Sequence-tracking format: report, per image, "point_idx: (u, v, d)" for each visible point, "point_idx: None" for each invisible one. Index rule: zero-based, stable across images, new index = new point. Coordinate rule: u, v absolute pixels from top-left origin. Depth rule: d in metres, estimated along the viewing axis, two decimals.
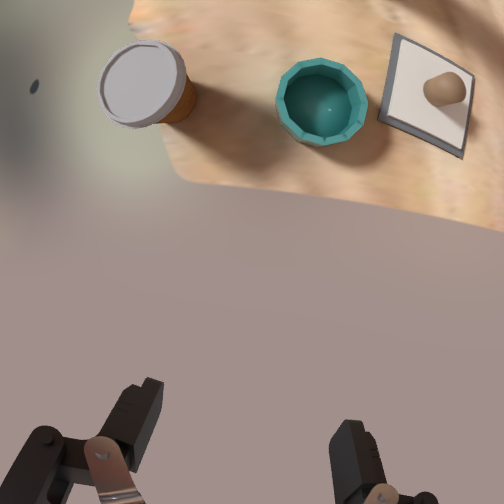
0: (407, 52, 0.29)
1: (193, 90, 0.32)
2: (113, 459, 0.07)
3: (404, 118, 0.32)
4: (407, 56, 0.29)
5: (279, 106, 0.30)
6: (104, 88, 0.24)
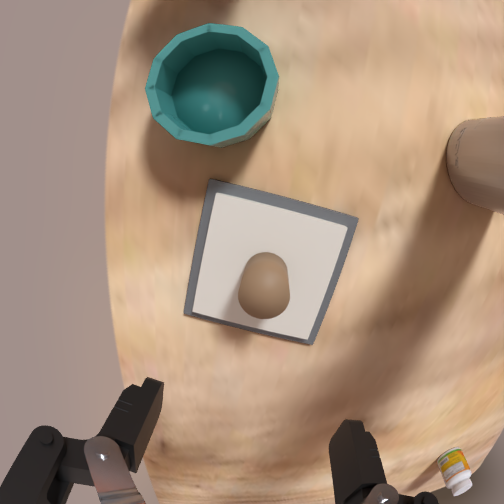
0: (325, 231, 0.26)
1: None
2: (113, 459, 0.07)
3: (214, 217, 0.27)
4: (317, 230, 0.26)
5: (197, 28, 0.18)
6: None
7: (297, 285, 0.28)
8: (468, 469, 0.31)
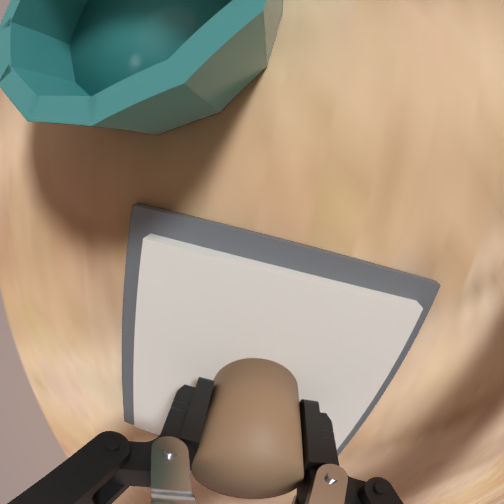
0: (380, 318, 0.12)
1: None
2: (182, 457, 0.08)
3: (145, 289, 0.12)
4: (366, 317, 0.12)
5: None
6: None
7: None
8: None
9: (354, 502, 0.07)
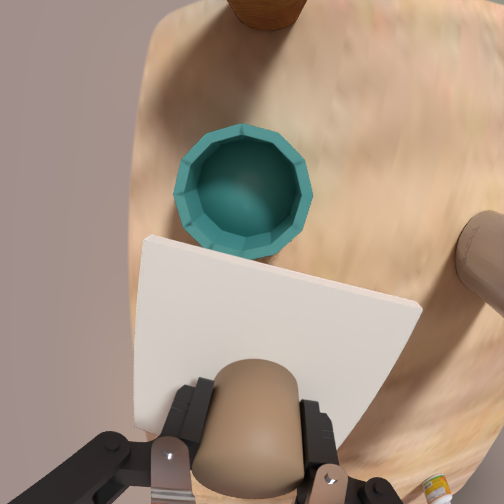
0: (380, 319, 0.12)
1: (271, 22, 0.20)
2: (182, 458, 0.08)
3: (145, 290, 0.12)
4: (366, 318, 0.12)
5: (229, 128, 0.20)
6: None
7: None
8: (449, 494, 0.34)
9: (354, 502, 0.07)
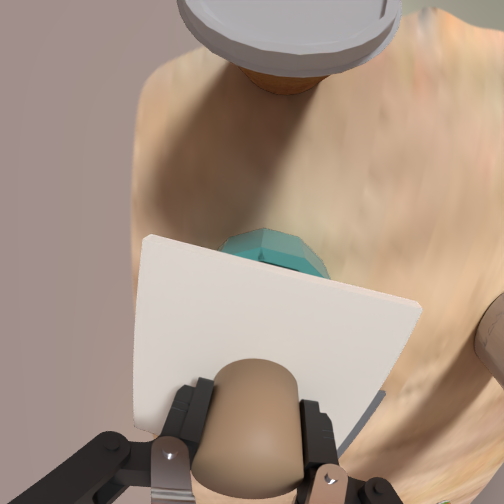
0: (379, 319, 0.12)
1: (293, 90, 0.17)
2: (182, 458, 0.08)
3: (145, 289, 0.12)
4: (366, 318, 0.12)
5: (245, 253, 0.18)
6: None
7: None
8: None
9: (354, 502, 0.07)
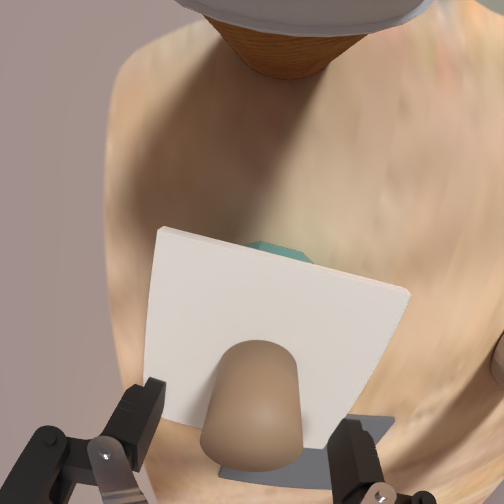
0: (371, 303, 0.13)
1: (296, 72, 0.13)
2: (116, 459, 0.07)
3: (158, 276, 0.13)
4: (358, 302, 0.13)
5: None
6: None
7: (313, 388, 0.15)
8: None
9: None
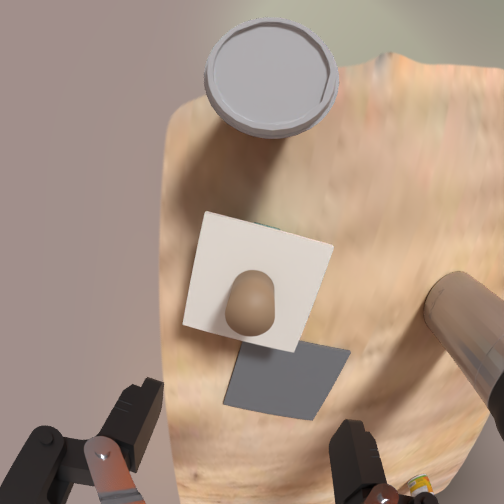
0: (311, 251, 0.27)
1: None
2: (113, 459, 0.07)
3: (203, 236, 0.27)
4: (304, 250, 0.27)
5: None
6: (269, 27, 0.16)
7: (283, 301, 0.29)
8: (431, 492, 0.42)
9: None
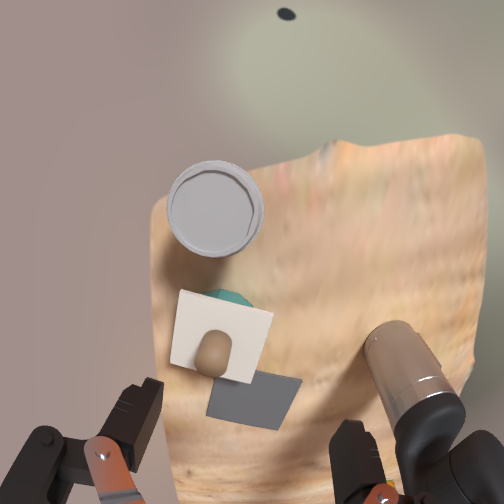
0: (256, 318, 0.37)
1: None
2: (113, 459, 0.07)
3: (180, 306, 0.38)
4: (251, 317, 0.37)
5: None
6: (209, 173, 0.27)
7: (239, 350, 0.39)
8: None
9: None
